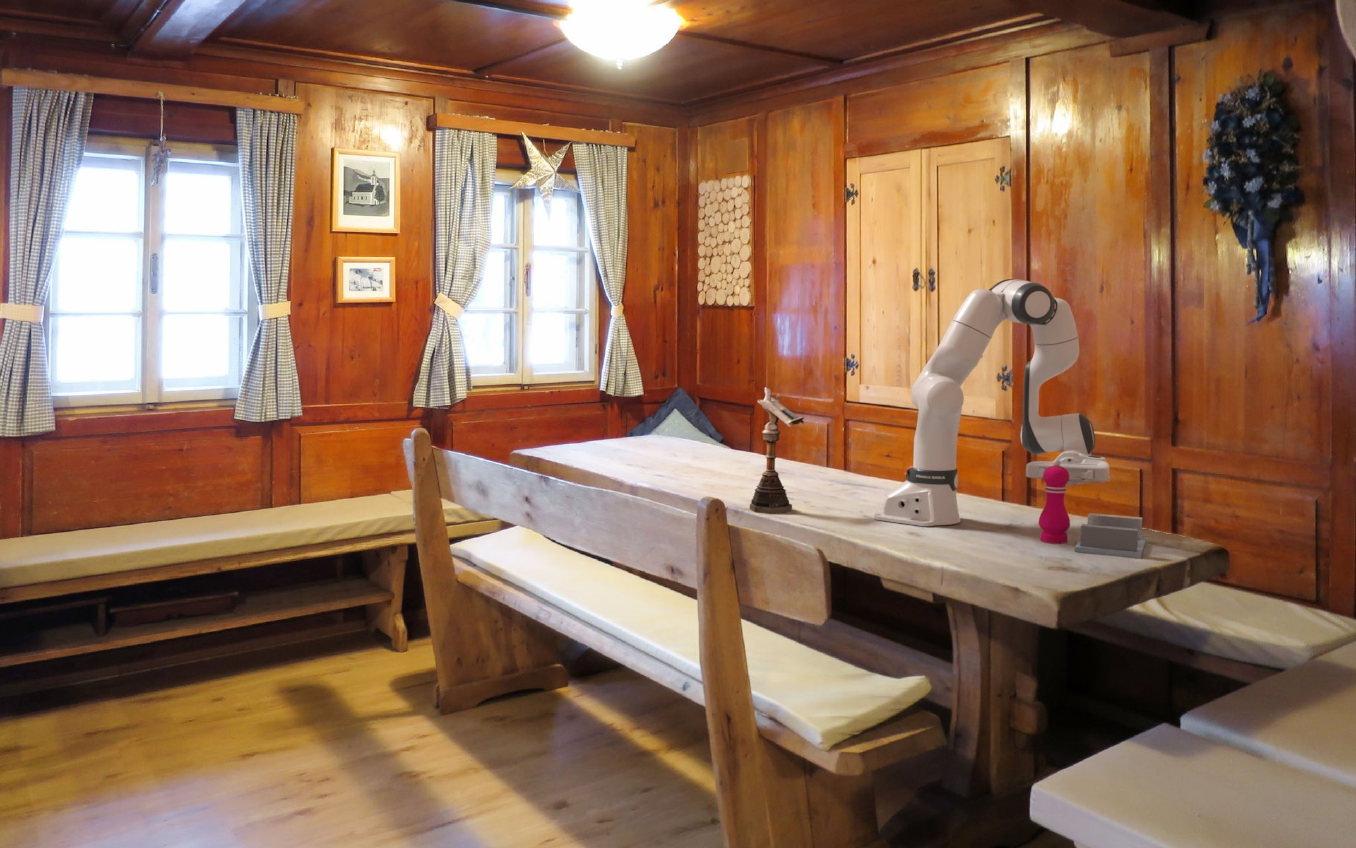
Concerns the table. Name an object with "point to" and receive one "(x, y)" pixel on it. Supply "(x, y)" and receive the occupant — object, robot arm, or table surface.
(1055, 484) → the pepper mill
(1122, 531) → the vise
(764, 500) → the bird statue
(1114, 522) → the sliding jaw
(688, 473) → the table surface
